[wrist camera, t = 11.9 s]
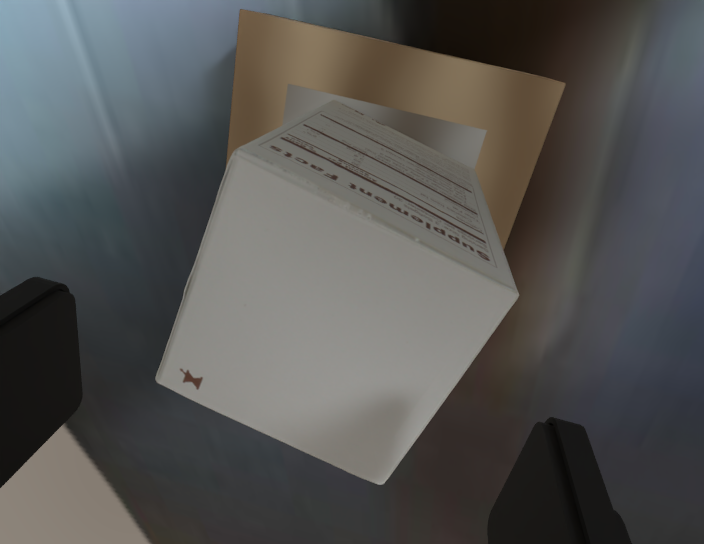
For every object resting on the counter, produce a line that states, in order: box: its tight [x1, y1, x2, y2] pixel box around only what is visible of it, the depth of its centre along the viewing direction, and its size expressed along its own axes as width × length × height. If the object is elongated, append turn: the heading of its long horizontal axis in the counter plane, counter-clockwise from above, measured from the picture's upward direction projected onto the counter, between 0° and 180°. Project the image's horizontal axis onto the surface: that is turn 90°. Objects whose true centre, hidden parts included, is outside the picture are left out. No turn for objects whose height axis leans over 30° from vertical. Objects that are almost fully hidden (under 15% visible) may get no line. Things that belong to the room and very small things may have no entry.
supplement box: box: [155, 100, 519, 485], centre depth 18 cm, size 7×7×13 cm
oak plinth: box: [226, 9, 566, 250], centre depth 25 cm, size 14×14×4 cm
